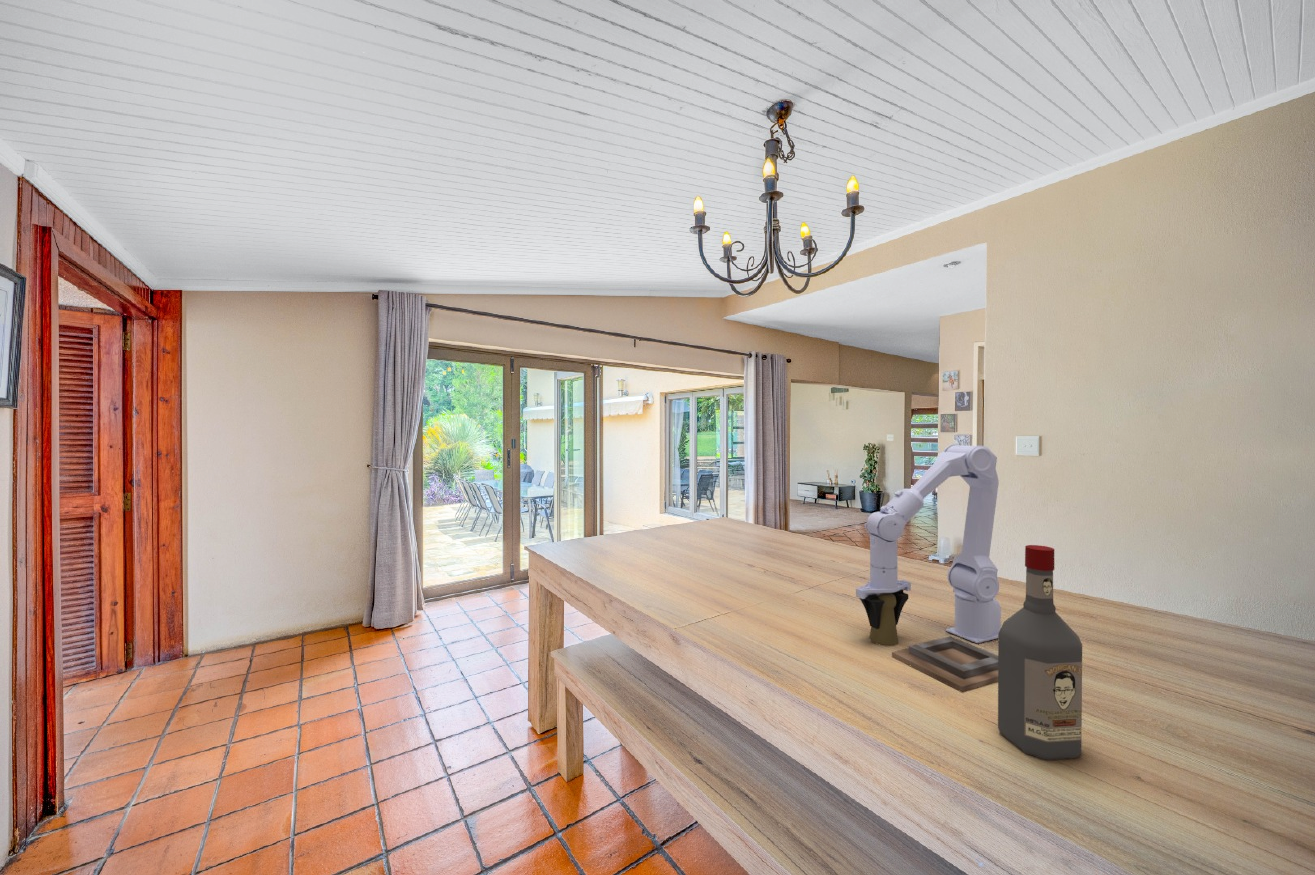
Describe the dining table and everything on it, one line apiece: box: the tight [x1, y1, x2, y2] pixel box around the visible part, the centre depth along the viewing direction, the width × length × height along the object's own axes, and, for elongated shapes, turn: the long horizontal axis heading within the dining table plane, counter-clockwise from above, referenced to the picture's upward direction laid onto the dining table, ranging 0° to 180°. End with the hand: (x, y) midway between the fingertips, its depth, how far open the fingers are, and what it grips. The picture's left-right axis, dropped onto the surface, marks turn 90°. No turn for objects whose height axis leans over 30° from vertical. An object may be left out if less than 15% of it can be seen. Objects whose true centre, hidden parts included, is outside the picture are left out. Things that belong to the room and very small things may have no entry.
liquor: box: [997, 544, 1083, 761], centre depth 80 cm, size 9×9×30 cm
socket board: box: [891, 635, 998, 693], centre depth 106 cm, size 18×16×2 cm
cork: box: [869, 593, 899, 647], centre depth 118 cm, size 6×6×11 cm
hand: (883, 625), depth 118 cm, fingers closed on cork, 5 cm apart
